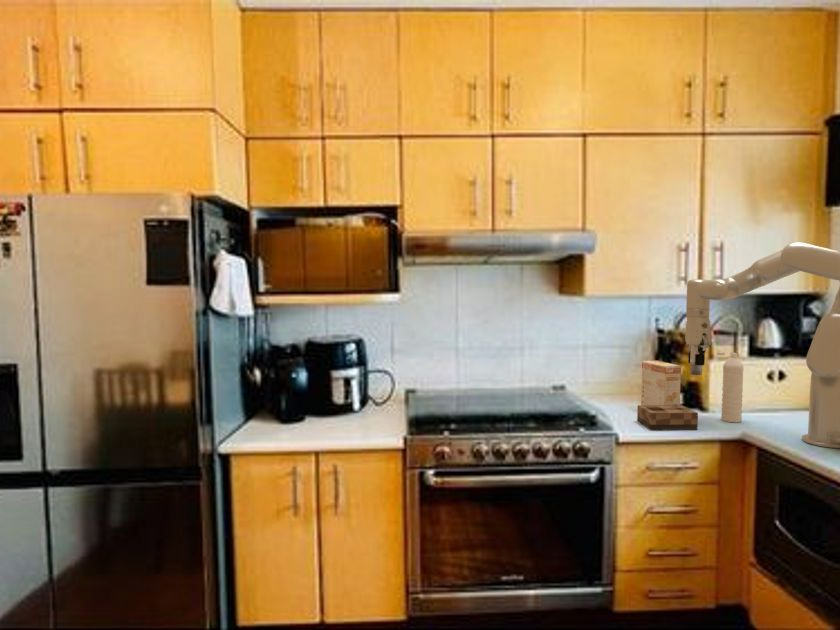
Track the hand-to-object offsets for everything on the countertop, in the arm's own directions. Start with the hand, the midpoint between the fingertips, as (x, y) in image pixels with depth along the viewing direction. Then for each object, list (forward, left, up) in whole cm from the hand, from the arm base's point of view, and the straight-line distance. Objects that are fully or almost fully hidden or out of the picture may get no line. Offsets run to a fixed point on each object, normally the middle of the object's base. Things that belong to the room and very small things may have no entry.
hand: (696, 363), depth 208 cm
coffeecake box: (+13, +7, -21) cm, 26 cm away
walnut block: (-6, +13, -21) cm, 26 cm away
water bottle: (+1, -13, -21) cm, 25 cm away
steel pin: (0, 0, -4) cm, 4 cm away
